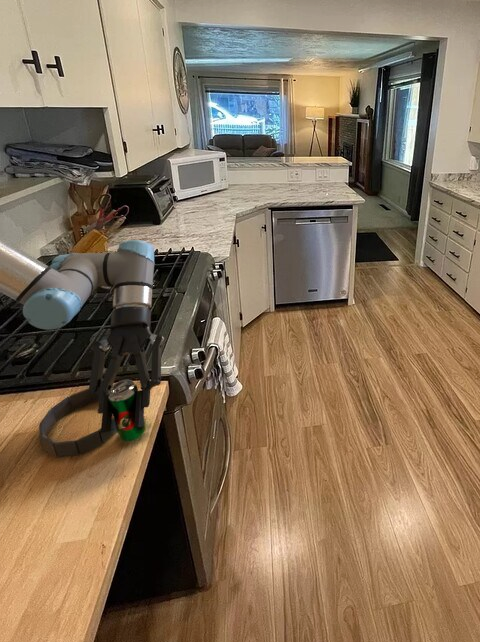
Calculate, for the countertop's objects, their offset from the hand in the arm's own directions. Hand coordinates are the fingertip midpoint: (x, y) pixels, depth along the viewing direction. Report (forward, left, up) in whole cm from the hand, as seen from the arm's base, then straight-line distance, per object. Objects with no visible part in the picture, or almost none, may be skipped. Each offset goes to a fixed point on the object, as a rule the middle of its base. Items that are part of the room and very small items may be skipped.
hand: (122, 429), depth 68 cm
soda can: (-2, +3, -5) cm, 7 cm away
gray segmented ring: (-13, +1, -6) cm, 14 cm away
